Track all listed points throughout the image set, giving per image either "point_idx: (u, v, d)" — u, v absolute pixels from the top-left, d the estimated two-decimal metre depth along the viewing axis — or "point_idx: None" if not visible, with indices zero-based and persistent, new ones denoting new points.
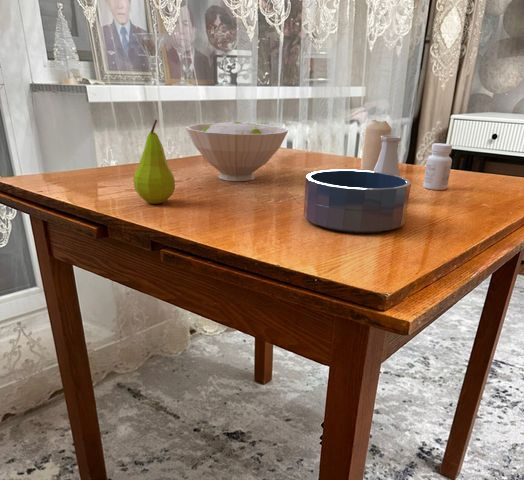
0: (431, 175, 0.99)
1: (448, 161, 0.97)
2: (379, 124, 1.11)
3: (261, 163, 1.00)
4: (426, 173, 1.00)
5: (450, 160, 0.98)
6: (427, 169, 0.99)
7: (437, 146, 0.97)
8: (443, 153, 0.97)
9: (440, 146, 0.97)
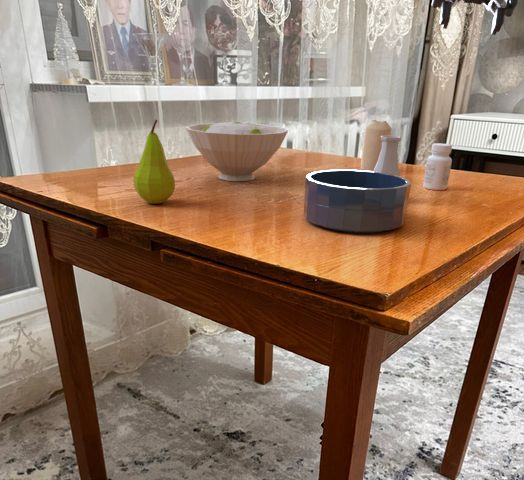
0: (431, 175, 0.99)
1: (448, 161, 0.97)
2: (379, 124, 1.11)
3: (261, 163, 1.00)
4: (426, 173, 1.00)
5: (450, 160, 0.98)
6: (427, 169, 0.99)
7: (437, 146, 0.97)
8: (443, 153, 0.97)
9: (440, 146, 0.97)
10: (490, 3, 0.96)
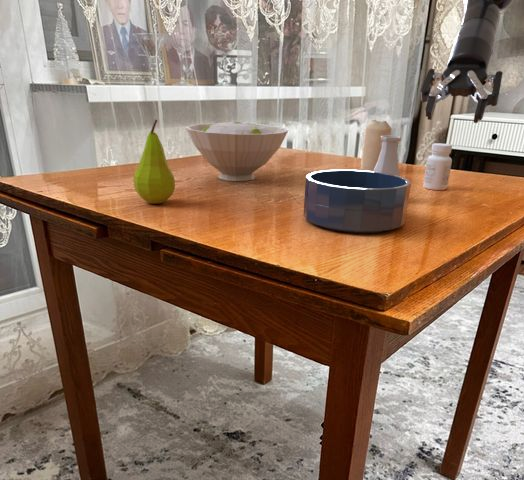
0: (431, 175, 0.99)
1: (448, 161, 0.97)
2: (379, 124, 1.11)
3: (261, 163, 1.00)
4: (426, 173, 1.00)
5: (450, 160, 0.98)
6: (427, 169, 0.99)
7: (437, 146, 0.97)
8: (443, 153, 0.97)
9: (440, 146, 0.97)
10: (475, 95, 1.03)
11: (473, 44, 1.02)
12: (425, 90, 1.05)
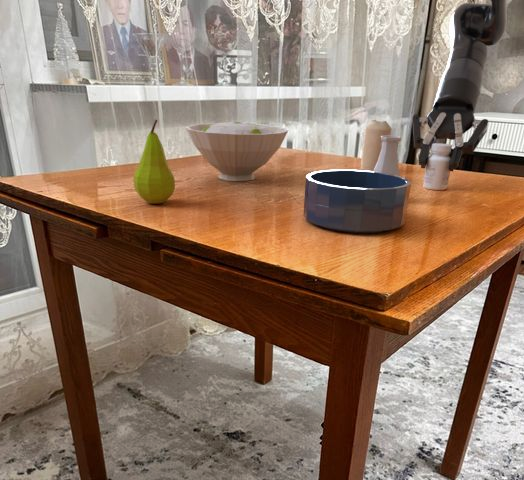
0: (431, 175, 0.99)
1: (448, 161, 0.97)
2: (379, 124, 1.11)
3: (261, 163, 1.00)
4: (426, 173, 1.00)
5: (450, 160, 0.98)
6: (427, 169, 0.99)
7: (437, 146, 0.97)
8: (443, 153, 0.97)
9: (440, 146, 0.97)
10: (454, 140, 0.99)
11: (460, 86, 0.98)
12: (418, 137, 1.00)
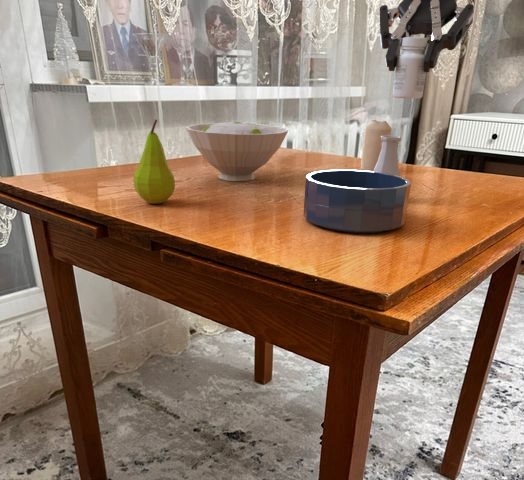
0: (401, 78, 0.78)
1: (423, 59, 0.76)
2: (379, 124, 1.11)
3: (261, 163, 1.00)
4: (396, 77, 0.79)
5: None
6: (397, 71, 0.78)
7: (408, 39, 0.76)
8: (416, 48, 0.76)
9: (412, 38, 0.75)
10: (432, 34, 0.78)
11: None
12: (386, 32, 0.79)
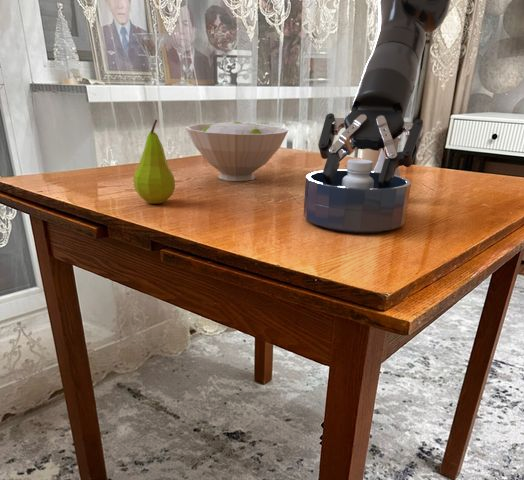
0: None
1: (368, 183, 0.73)
2: None
3: (261, 163, 1.00)
4: None
5: (370, 182, 0.74)
6: None
7: (352, 163, 0.73)
8: (360, 172, 0.73)
9: (356, 163, 0.72)
10: (384, 150, 0.74)
11: (384, 79, 0.73)
12: (324, 144, 0.76)
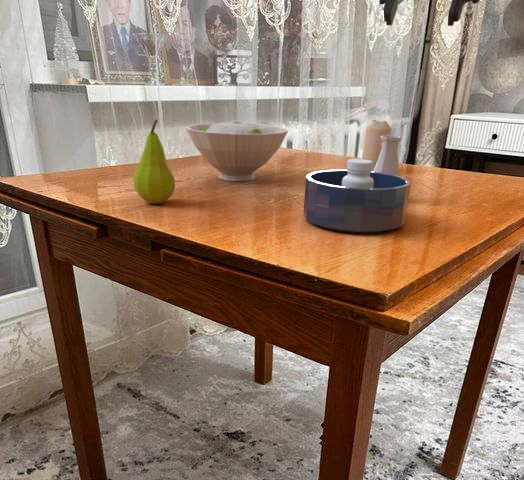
0: None
1: (368, 183, 0.73)
2: (379, 124, 1.11)
3: (261, 163, 1.00)
4: None
5: (370, 182, 0.74)
6: None
7: (352, 163, 0.73)
8: (360, 172, 0.73)
9: (356, 163, 0.72)
10: None
11: None
12: None
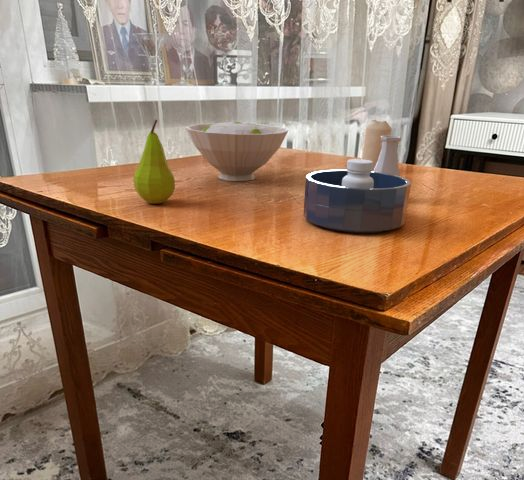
0: None
1: (368, 183, 0.73)
2: (379, 124, 1.11)
3: (261, 163, 1.00)
4: None
5: (370, 182, 0.74)
6: None
7: (352, 163, 0.73)
8: (360, 172, 0.73)
9: (356, 163, 0.72)
10: None
11: None
12: None
